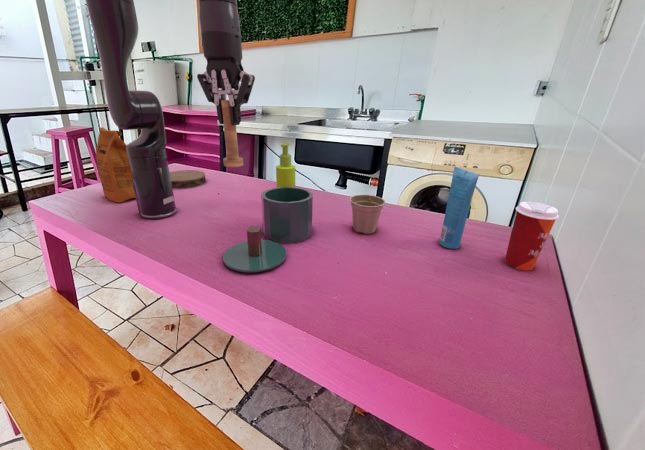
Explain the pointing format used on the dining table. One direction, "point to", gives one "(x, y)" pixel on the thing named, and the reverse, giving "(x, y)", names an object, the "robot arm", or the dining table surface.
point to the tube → (457, 207)
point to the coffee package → (114, 166)
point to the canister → (287, 214)
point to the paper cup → (529, 234)
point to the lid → (254, 253)
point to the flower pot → (366, 212)
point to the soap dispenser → (285, 169)
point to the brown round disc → (187, 179)
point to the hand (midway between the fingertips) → (229, 124)
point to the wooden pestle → (230, 138)
